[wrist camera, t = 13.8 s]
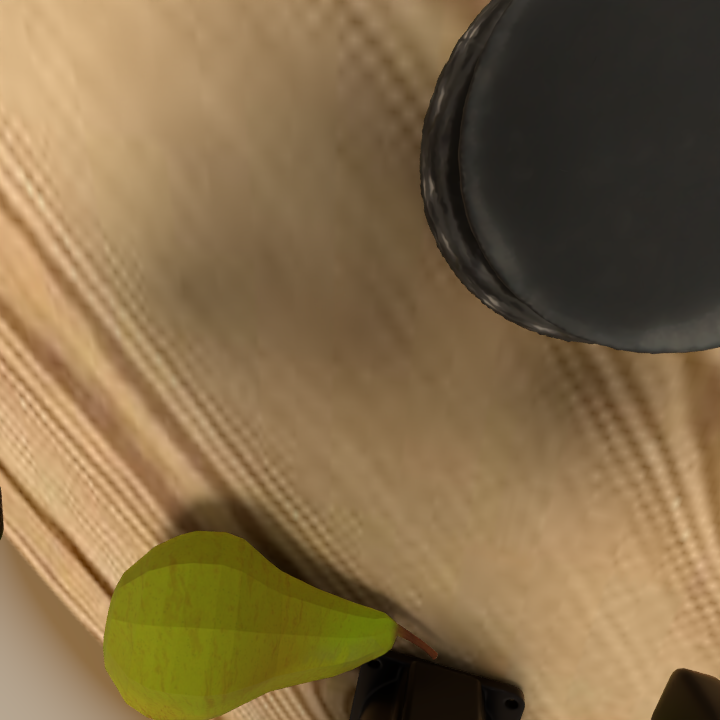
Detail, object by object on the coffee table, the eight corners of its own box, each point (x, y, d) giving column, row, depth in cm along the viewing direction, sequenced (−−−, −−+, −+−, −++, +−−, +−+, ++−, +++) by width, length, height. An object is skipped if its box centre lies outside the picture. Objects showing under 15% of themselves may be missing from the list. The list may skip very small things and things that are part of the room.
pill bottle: (581, 311, 17) (756, 507, 7) (406, 222, 17) (306, 277, 7) (710, 112, 15) (1274, -64, 4) (507, 14, 15) (587, -373, 5)
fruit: (140, 504, 22) (419, 529, 25) (114, 661, 22) (401, 670, 24) (102, 553, 16) (481, 580, 18) (65, 775, 15) (457, 770, 18)
